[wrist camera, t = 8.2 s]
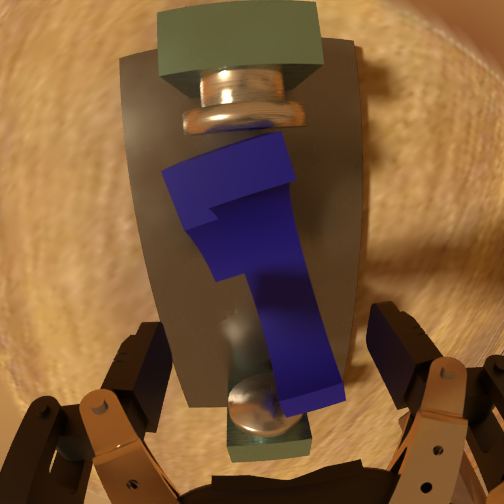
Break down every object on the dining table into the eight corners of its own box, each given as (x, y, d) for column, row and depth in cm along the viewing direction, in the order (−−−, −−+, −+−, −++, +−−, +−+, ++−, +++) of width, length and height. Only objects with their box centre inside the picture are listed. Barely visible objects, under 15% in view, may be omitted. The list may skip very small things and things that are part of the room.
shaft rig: (348, 44, 12) (408, 4, 6) (337, 386, 21) (359, 450, 15) (124, 61, 12) (62, 28, 6) (190, 400, 21) (181, 467, 15)
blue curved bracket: (176, 163, 14) (135, 183, 8) (263, 133, 13) (281, 130, 8) (251, 348, 18) (256, 424, 13) (319, 328, 18) (346, 400, 12)
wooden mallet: (422, 399, 24) (486, 532, 7) (449, 418, 27) (498, 516, 10) (395, 420, 25) (448, 552, 8) (427, 434, 28) (471, 534, 11)
